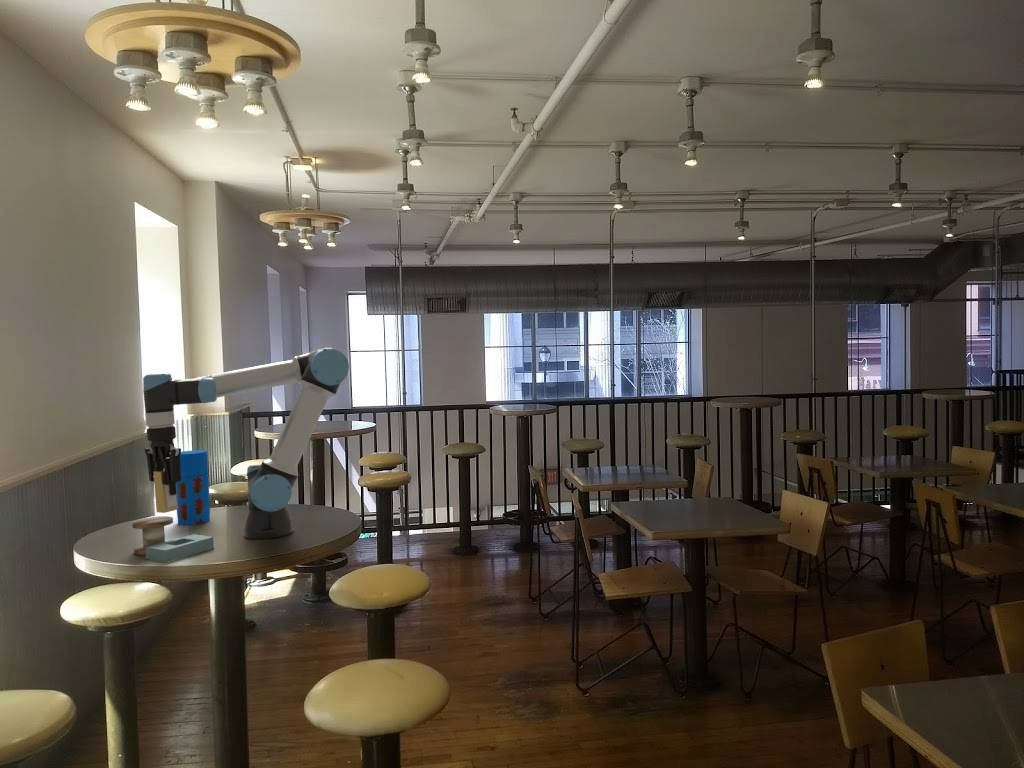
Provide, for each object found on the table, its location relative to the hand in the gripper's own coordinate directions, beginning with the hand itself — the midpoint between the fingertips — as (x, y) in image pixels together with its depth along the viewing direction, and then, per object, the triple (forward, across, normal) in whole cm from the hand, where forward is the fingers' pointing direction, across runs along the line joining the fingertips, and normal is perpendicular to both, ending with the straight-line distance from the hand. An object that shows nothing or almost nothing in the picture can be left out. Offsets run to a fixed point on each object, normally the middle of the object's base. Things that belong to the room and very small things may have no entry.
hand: (167, 505), depth 206 cm
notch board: (+15, -1, -3) cm, 15 cm away
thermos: (+15, +33, -33) cm, 49 cm away
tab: (+2, 0, 0) cm, 2 cm away
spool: (+15, +10, -2) cm, 18 cm away
